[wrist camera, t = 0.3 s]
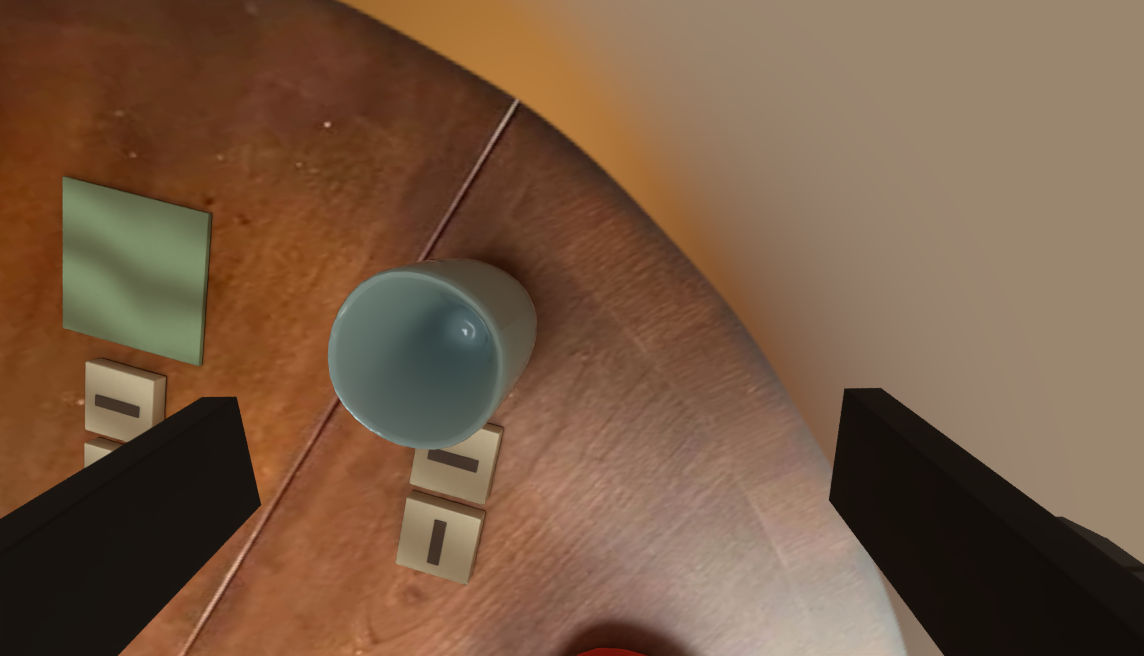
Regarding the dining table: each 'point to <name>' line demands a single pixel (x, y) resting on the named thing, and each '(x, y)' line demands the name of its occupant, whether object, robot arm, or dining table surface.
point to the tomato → (610, 652)
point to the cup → (431, 349)
